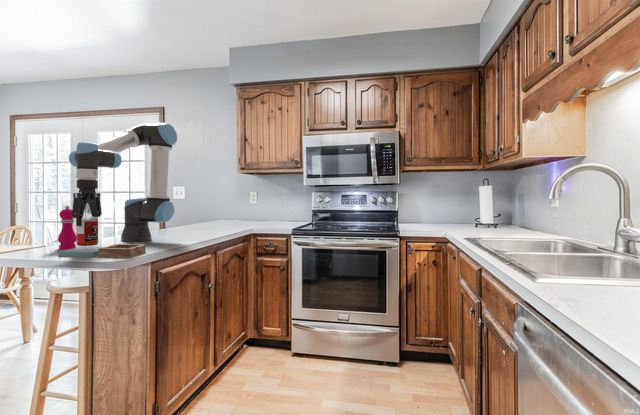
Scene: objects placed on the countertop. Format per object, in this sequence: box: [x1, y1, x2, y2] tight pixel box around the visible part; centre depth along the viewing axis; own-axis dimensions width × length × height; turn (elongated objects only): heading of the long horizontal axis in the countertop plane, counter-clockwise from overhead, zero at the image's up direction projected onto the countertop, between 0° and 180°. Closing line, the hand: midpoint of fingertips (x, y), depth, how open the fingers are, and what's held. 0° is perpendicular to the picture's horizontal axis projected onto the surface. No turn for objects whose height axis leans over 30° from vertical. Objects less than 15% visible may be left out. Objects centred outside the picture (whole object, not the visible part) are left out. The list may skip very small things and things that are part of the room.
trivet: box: [58, 246, 103, 258], centre depth 151 cm, size 14×14×2 cm
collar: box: [98, 243, 146, 258], centre depth 151 cm, size 13×13×4 cm
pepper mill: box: [57, 205, 77, 250], centre depth 163 cm, size 7×7×20 cm
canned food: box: [75, 218, 99, 247], centre depth 151 cm, size 8×8×11 cm
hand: (87, 232), depth 151 cm, fingers closed on canned food, 8 cm apart
